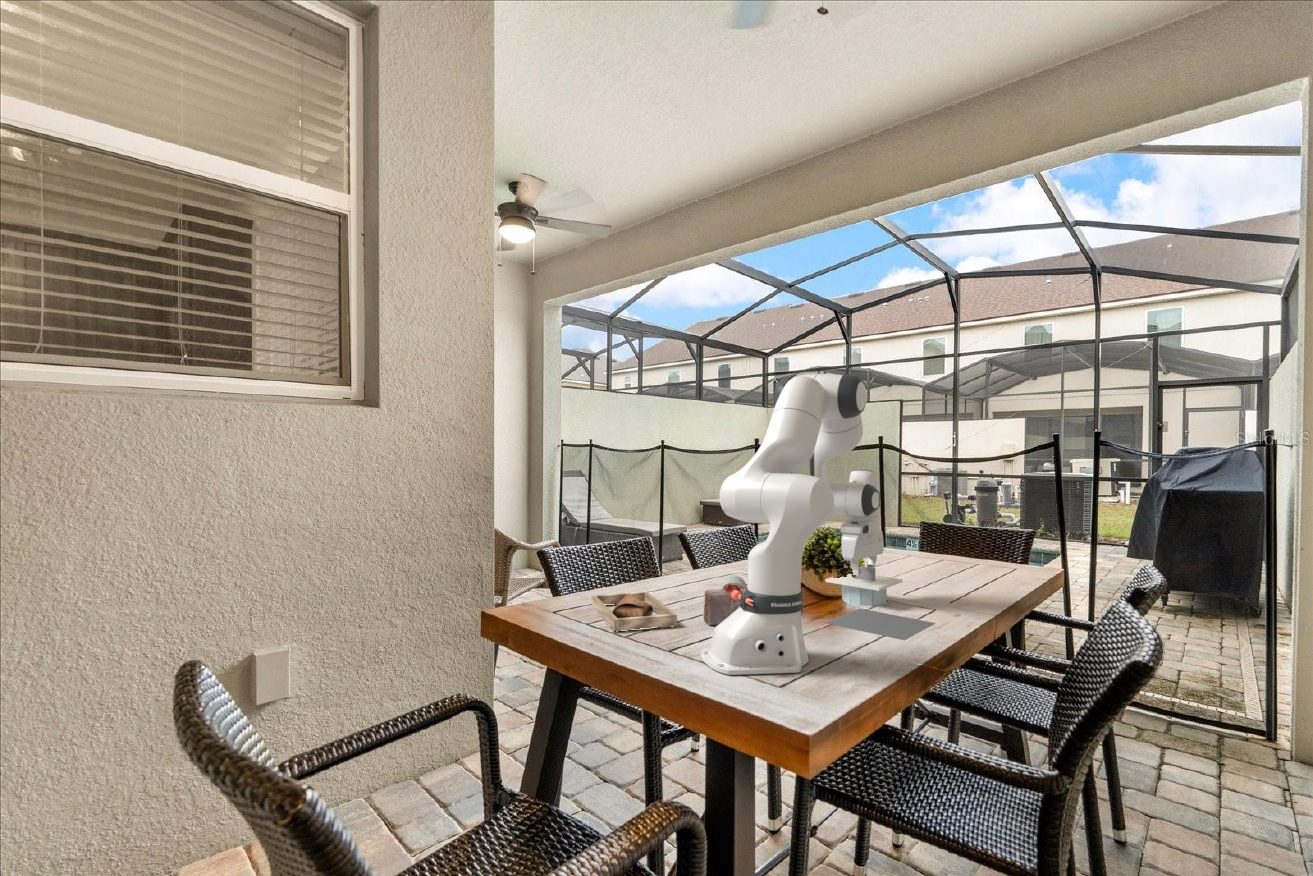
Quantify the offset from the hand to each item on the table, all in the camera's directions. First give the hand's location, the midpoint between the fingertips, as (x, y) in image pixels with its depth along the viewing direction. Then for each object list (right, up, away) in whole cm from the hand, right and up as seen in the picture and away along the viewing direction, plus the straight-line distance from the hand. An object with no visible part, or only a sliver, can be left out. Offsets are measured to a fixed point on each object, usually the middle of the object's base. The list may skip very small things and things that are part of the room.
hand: (863, 572), depth 175 cm
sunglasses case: (-67, -8, -17) cm, 70 cm away
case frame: (-67, -8, -17) cm, 70 cm away
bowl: (0, -9, 0) cm, 9 cm away
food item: (-41, -8, -22) cm, 48 cm away
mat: (-4, -8, -24) cm, 25 cm away
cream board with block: (0, -3, 0) cm, 3 cm away
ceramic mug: (-37, -9, -3) cm, 38 cm away
